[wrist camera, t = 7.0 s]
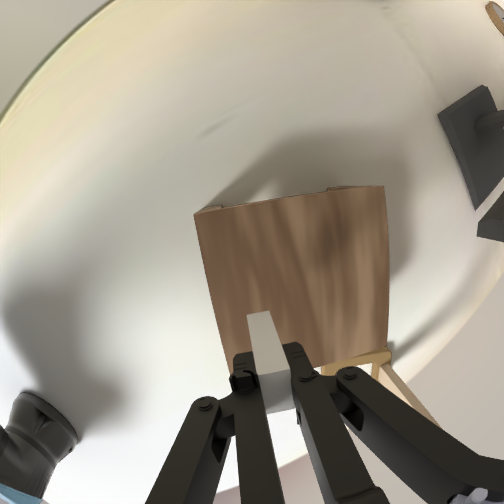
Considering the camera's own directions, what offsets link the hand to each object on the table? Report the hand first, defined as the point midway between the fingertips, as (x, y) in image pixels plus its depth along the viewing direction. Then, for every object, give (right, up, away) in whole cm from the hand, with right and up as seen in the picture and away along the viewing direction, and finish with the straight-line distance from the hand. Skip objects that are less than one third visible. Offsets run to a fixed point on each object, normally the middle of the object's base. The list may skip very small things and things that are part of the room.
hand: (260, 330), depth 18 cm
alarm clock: (+64, +63, +7) cm, 90 cm away
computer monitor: (+37, +23, +13) cm, 46 cm away
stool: (-4, +1, +9) cm, 10 cm away
